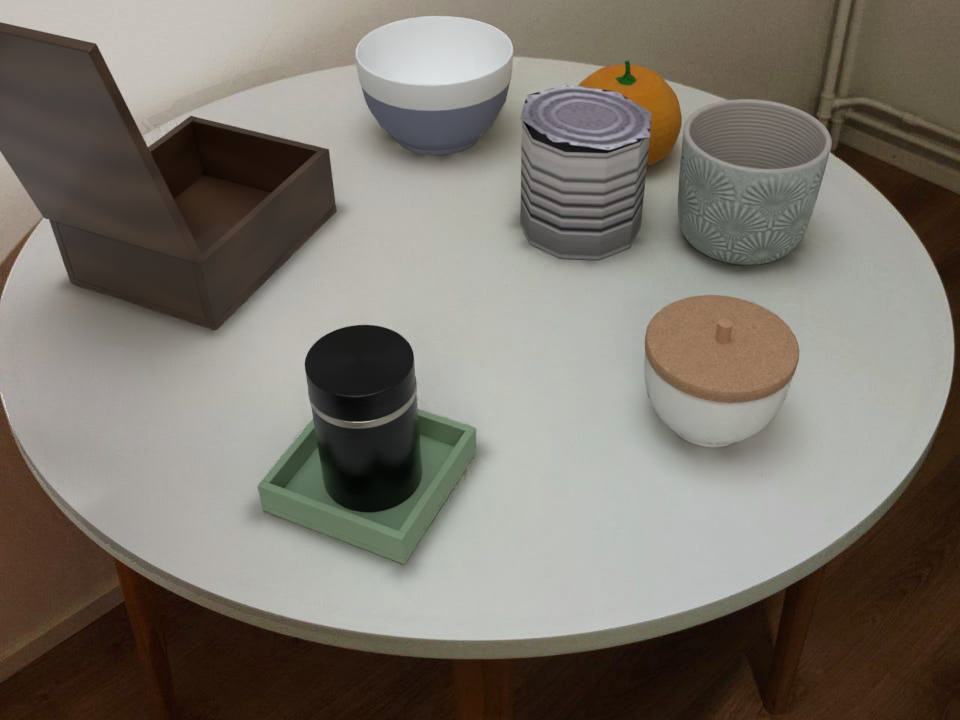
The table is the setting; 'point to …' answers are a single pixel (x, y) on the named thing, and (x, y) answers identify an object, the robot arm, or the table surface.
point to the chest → (213, 222)
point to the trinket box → (718, 368)
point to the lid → (82, 144)
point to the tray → (386, 533)
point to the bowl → (435, 80)
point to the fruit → (644, 102)
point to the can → (582, 171)
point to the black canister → (365, 416)
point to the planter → (750, 179)
